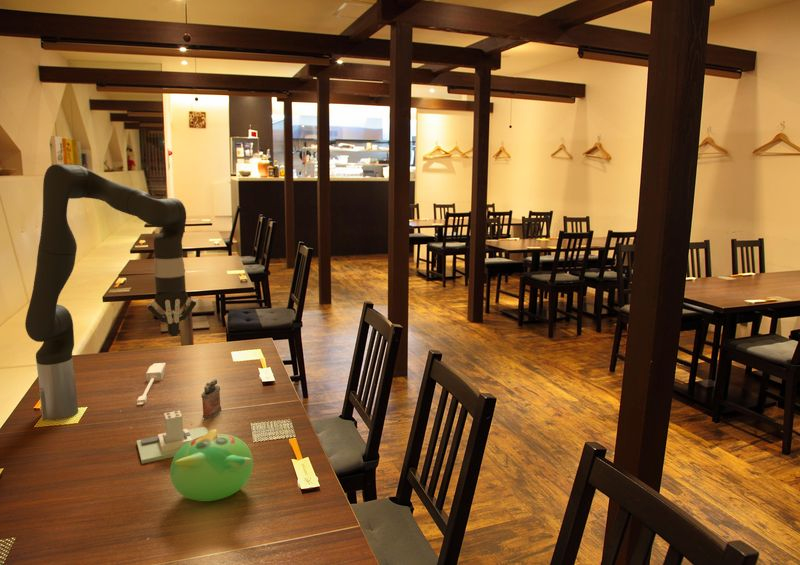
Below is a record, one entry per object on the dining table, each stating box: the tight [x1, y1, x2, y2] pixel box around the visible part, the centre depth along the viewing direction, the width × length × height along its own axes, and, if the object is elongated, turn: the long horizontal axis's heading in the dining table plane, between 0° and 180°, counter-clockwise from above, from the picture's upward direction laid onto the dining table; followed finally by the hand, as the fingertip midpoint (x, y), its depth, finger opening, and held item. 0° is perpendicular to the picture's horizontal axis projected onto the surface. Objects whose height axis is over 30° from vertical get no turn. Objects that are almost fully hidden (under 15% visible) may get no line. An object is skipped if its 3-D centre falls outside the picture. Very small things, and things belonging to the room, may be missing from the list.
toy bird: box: [169, 428, 254, 502], centre depth 133 cm, size 18×17×15 cm
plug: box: [163, 410, 184, 443], centre depth 156 cm, size 4×4×8 cm
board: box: [136, 426, 209, 465], centre depth 157 cm, size 18×12×3 cm, turn 119°
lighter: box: [200, 379, 222, 420], centre depth 176 cm, size 8×3×10 cm, turn 168°
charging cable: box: [136, 362, 167, 406], centre depth 197 cm, size 5×32×3 cm, turn 12°
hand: (173, 335), depth 159 cm, fingers closed
